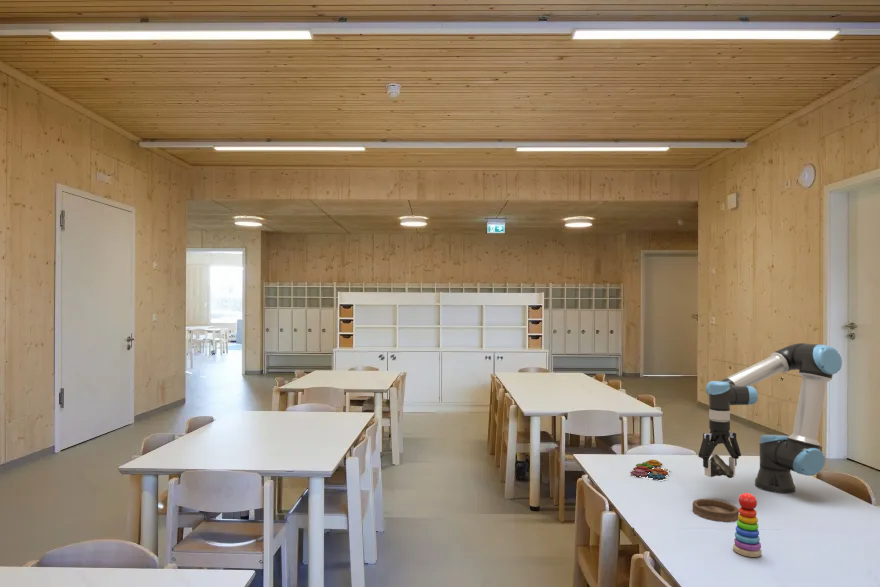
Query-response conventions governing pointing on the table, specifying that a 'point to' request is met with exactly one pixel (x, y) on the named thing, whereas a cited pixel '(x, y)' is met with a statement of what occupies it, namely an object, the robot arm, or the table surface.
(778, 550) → the table surface
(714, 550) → the table surface
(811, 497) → the table surface
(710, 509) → the round tray
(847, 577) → the table surface
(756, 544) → the stacking toy
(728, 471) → the grey brown rock
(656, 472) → the gear puzzle
